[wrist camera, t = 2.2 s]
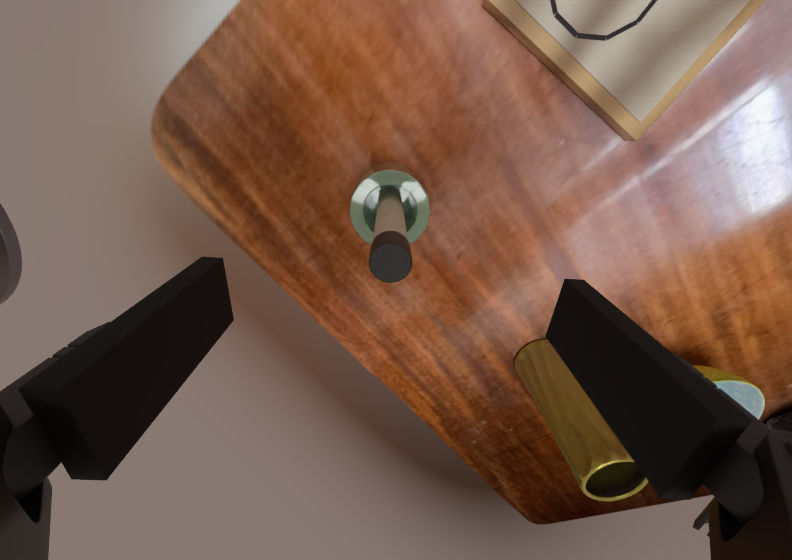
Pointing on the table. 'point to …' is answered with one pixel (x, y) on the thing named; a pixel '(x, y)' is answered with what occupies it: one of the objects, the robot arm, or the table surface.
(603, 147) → the table surface
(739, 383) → the bowl
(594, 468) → the vase
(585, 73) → the sketch board
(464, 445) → the table surface
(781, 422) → the mineral specimen
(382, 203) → the pen
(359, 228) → the pencil pot
